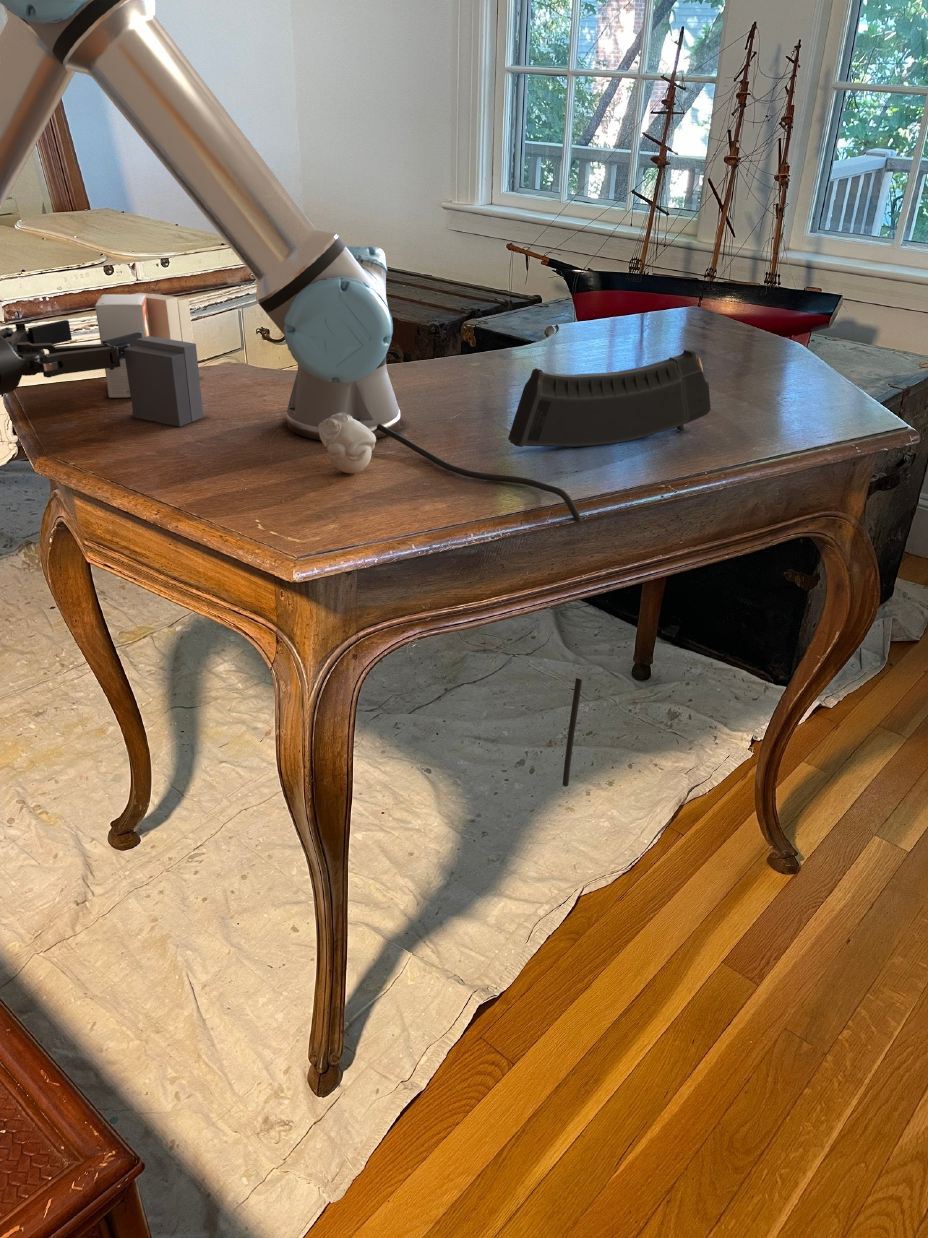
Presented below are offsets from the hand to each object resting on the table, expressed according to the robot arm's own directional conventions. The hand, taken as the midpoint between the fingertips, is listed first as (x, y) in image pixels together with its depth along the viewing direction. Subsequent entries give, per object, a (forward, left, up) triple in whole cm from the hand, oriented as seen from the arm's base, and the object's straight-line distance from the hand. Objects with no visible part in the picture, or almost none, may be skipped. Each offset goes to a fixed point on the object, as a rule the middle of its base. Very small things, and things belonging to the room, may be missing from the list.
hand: (104, 335), depth 129 cm
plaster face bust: (-45, +9, -9) cm, 47 cm away
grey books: (-13, +3, -9) cm, 16 cm away
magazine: (-69, -20, -9) cm, 72 cm away
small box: (0, -4, -9) cm, 10 cm away
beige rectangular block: (0, -12, -9) cm, 14 cm away
